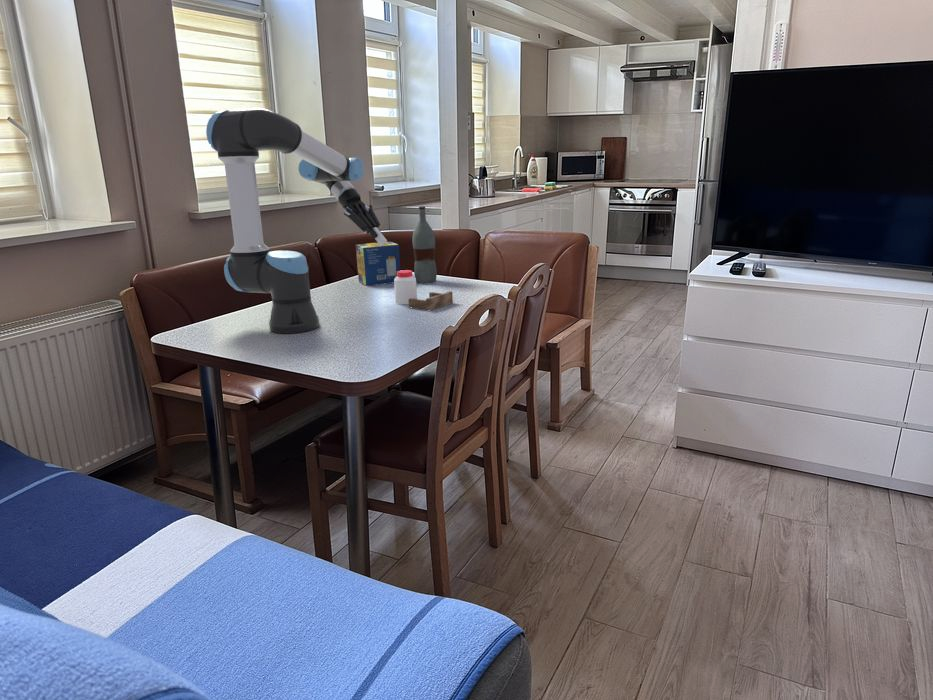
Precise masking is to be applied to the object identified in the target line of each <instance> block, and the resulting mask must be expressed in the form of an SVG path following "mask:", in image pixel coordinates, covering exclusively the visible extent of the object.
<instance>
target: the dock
mask: <svg viewBox="0 0 933 700" xmlns="http://www.w3.org/2000/svg"><path fill="white" fill-rule="evenodd" d="M428 296H429V297H428V298H425V299H419V298H417V299H409V304H408V308H409V307H412V308H411V309H415V308H418V309H417V310H422V309H425V310H424V311H427V310H431V311H433V310H436V309H439V308H442V307H445V306H448V305H451V304H453V303H454V300H453V291H450V290H449V291H447V292H444V293H441V292H433V291H432V292H431V291H430V292H428ZM450 303H451V304H450ZM447 304H448V305H447ZM444 305H445V306H444ZM441 306H442V307H441ZM438 307H439V308H438ZM435 308H436V309H435ZM432 309H433V310H432Z"/></svg>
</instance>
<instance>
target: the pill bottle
mask: <svg viewBox="0 0 933 700" xmlns="http://www.w3.org/2000/svg"><path fill="white" fill-rule="evenodd" d="M393 285H394V287H393V288H394V296H395V297H394V298H395V303H398V304H397V305H402V304H406V305H409V299H418V290H417V283H416V278H415V275H413V270H409V269H405V270H404V269H402V270H401V269H400V271H397V276H396V277H395V279H394V283H393Z"/></svg>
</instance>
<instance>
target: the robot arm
mask: <svg viewBox="0 0 933 700" xmlns="http://www.w3.org/2000/svg"><path fill="white" fill-rule="evenodd" d="M205 134H206V138H207V139H206V140H207V142H208V144H209V145H210V147H211V148H212V149H213V150H214V151H215V152H217V157H218V159H219V160H220V161H221V162H222V163H223V164H224V171H225V178H226V186H227V194H228V203H229V209H230V211H229V212H230V219H231V227H232V235H233V244H234V245H233V246H232V247H231V249H230V250H229V254H230V256H228V257H227V258H226V259H225V263H224V266H223V271H224V272H223V273H224V277H225V280H226V282H227V283H228V284H229V285H230V286H231V287H232V288H233V289H234V290H235V291H238V292H242V293H243V292H244V293H249V294H251V293H255V294H256V293H257V294H260V293H261V294H271V302H272V307H271V312H270V318H269V322H268V325H269V330H271V332H272V331H274V332H273V333H275V332H277V334H297V333H303V332H308V331H312V330H315V329H317V328H318V327H319V326H320V324H321V323H320V319H319V316H318V314H317V312H316V309H315V306H314V305H313V302H312V296H311V285H310V277H309V275H310V274H309V266H308V262H307V258H306V256H305V254H303V253H301V252H299V251H294V250H282V249H281V250H273V251H270V247H268V245H266V244H265V243H264V235H263V228H262V227H263V226H262V219H261V209H260V207H261V206H260V199H259V191H258V189H259V188H258V184H257V183H258V182H257V172H256V164H255V163H256V162H257V161H258V160H259V158H260V152H259V151H277V152H279V153H282V154H285V155H290V154H292V155H294V156H295V157H297V158H299V159H300V161H299V163H298V166H297V167H298V168H297V169H298V173H299V175H300V177H301V178H303V179H305V180H307V181H312V182H316V183H320V184H322V185H325V186H326V187H327V188H328V190H329V191H330V192H331V193H332V195H333V196H334V197H335V199H336V200H337V201H338V204H340V206H341V207H342V208H343V209H344V210H345V211H344V212H343V215H344V216H346V217H347V218H348V219H349V220H351V221H352V222H353V224H355V225H356V226H357V227H358V228H359V229H360V230H361V231H362V232H366V234H367V235H369V234H370V235H371V237H372V238H373V239H375V241H376V243H379V245H380V246H384V245H385V243H386V242H388V240H387V239H386V237H385V236H384V234H383V232H382V231H381V230H380V228H379V227H380V226H381V223H380V221H379V219H378V218H377V216H376V214H375V212H374V210H373V209H374V208H373V206H372V205H371V204H369V205H366V204H365V203H364V202H363V201H362V200H361V194H360V193H359V192H358V191H357V190H356V189H355V187H354V185H353V184H352V183H351V182H353V181H359V180H361V179H362V178H363V177H364V175H365V174H364V173H365V172H364V171H365V167H364V163H363V161H362V160H361V158H359V157H352V156H351V157H347V156H346V155H343V154H342V153H340V152H338V151H337V150H335V149H333V148H332V147H330V146H329V145H326V144H324V142H321V141H320V140H318V139H317V138H315V137H313V136H311V135H310V134H308V133H306V132H305V131H303V130H302V128H301V126H300V125H299V124H298V123H296V122H295V121H294V120H291V119H290V118H288V117H285V116H284V115H281V114H280V113H277V112H275V111H272V110H269V109H266V108H262V107H261V108H260V107H252V108H236V109H235V108H233V109H231V108H229V109H225V110H219V111H216V112H214V113H213V114H212V115H211V117H210V118H209V119H208V120H207V124H206V130H205Z"/></svg>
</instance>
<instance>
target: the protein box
mask: <svg viewBox="0 0 933 700" xmlns="http://www.w3.org/2000/svg"><path fill="white" fill-rule="evenodd" d="M355 251H356V254H355V255H356V264H357V276H358V282H359V283H360V282H361V284H363V285H364V286H365V287H368V286H367V285H370V286H376V285H375V284H378V285H385V284H384V283H386V284H392V282H394V279H395V277H396V276H397V271H401V259H400V245H399V244H398V243H395V242H393V241H388V240H387V242H386V243H385V245H384V246H380V245H379V243H378V242H370V243H362V244H361V243H360V244H355Z"/></svg>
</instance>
